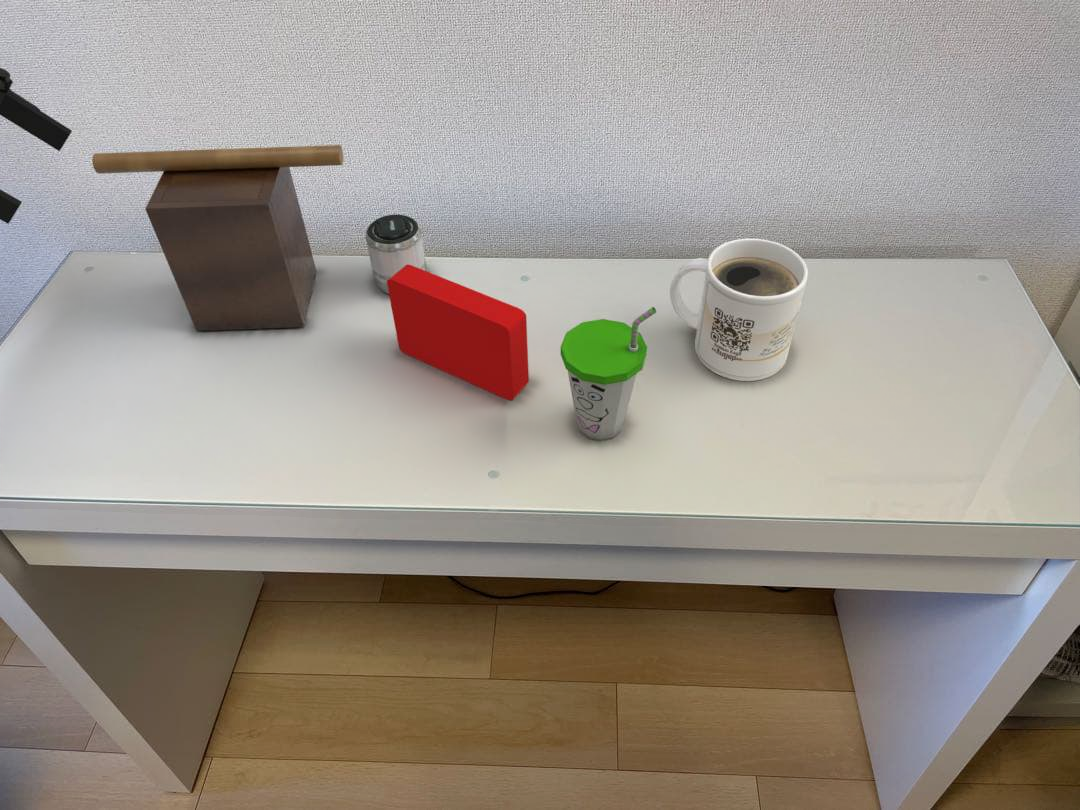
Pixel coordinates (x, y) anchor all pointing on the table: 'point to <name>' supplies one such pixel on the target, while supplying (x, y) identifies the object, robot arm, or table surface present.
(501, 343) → the red rounded slab
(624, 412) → the cup
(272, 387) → the table surface
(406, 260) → the camera lens
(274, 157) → the divided box with dowel
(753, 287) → the mug
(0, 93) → the robot arm
